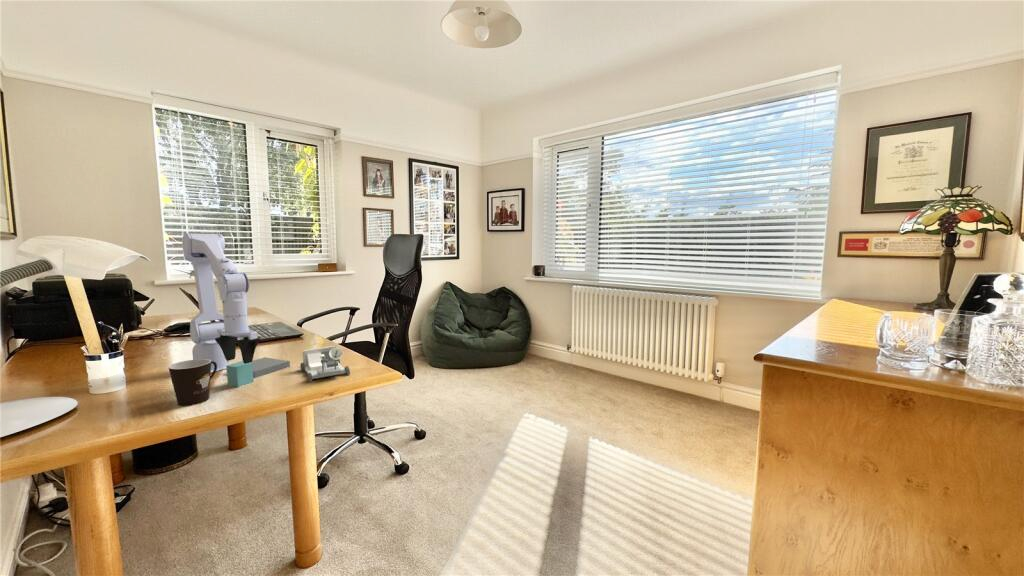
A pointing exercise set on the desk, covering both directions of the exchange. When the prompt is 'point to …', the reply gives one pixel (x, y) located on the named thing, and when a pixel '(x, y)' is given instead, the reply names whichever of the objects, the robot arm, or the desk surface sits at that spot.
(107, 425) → the desk surface
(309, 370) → the toy car
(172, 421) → the desk surface
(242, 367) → the teal block
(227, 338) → the robot arm
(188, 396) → the coffee mug
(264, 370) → the slate base
